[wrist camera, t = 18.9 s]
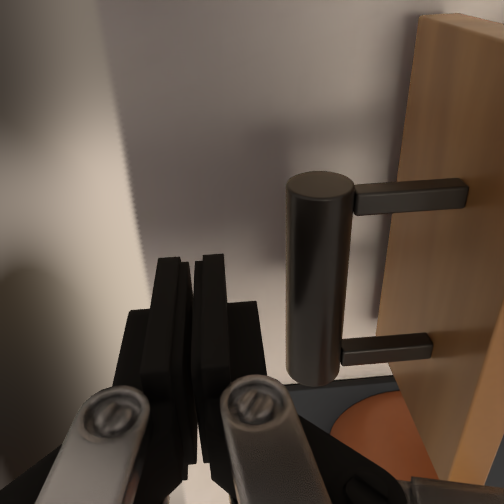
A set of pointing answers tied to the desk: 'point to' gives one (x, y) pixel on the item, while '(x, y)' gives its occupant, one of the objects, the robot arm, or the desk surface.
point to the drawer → (420, 253)
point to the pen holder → (385, 436)
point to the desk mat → (351, 392)
